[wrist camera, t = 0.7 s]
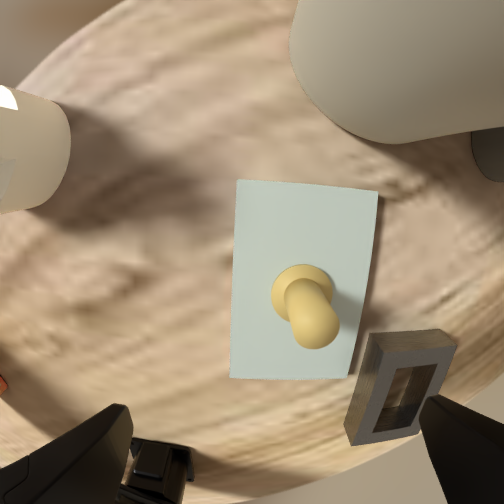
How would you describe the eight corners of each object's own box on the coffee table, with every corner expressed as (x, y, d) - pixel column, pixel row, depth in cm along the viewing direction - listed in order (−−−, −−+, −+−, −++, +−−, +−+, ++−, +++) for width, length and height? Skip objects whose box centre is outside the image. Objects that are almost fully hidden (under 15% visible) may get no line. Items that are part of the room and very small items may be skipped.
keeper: (343, 370, 22) (365, 420, 16) (230, 370, 22) (224, 424, 16) (372, 191, 19) (417, 196, 13) (237, 179, 19) (231, 177, 13)
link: (406, 415, 23) (417, 434, 20) (343, 424, 23) (351, 446, 20) (439, 328, 21) (457, 344, 18) (369, 333, 21) (384, 352, 18)
